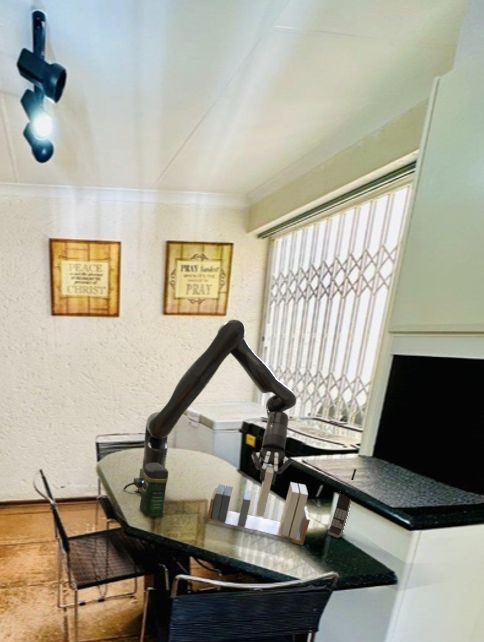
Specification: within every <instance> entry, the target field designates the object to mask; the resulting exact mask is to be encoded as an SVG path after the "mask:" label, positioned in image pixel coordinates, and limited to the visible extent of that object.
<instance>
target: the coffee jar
mask: <svg viewBox="0 0 484 642" xmlns="http://www.w3.org/2000/svg"><path fill="white" fill-rule="evenodd" d="M168 479H169V470H168V469H167V468H166V466H165V467H163V466H162V465H160V464H159V463H148V464H147V465H145V468H144V479H143V487H142V493H140V494H141V495H140V501H139V510H140V512H141V513H142V514H143V516H145V517H148V518H149V517H150V518H159V517H162V516H163V515H164V507H165V500H166V499H165V498H166V491H167V490H166V489H167V484H168Z"/></svg>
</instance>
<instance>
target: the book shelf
mask: <svg viewBox="0 0 484 642" xmlns="http://www.w3.org/2000/svg"><path fill="white" fill-rule="evenodd" d="M217 488H218V487H214V490H213V492H212V495H211V498H210V502H209V508H208V513H207V519H206V520H208V521H213V522H216V523H217V522H218V523H221V524H226V525H230V526H234V527H238V528H244V529H248V530H251V531H257V532H262V533H265V534H270V535H274V536H278V537H282V538H287V539H292V544H296V545H300V546H304V543H305V540H306V535H307V532H308V528H309V525H310V522H311V518H310V514H309V510H308V507H307V505H305V508H304V512H303V516H302V519H301V523H300V527H299V531H298V534H297V538H293V537H289V535H288V536H284V535H281V524H280V522H281V521H278V520H273V519H269V518H264V517H261V516H255V515H250V514H248V515H247V520H246V524H245V526H240V525H238V522H239V516H240V512H236V511H232V510H228V513H227V517H226V521H225V522H223V521H219V518H218V520H214V519H211V516H212V511H213V506H214V500H215V495H216V491H217ZM219 515H220V514H219Z"/></svg>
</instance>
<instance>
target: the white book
mask: <svg viewBox="0 0 484 642" xmlns="http://www.w3.org/2000/svg"><path fill="white" fill-rule="evenodd" d="M272 478H273V465H271V464H267V466H266V473H265V479H264V482H262V481H261V485H260V491H259V494H258V495H259V496H258V500H257V503H256V517H261V518H264V517H265V512H266V508H267V503H268V499H269V494H270V491H271V486H272V483H271V482H272Z"/></svg>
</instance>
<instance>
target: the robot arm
mask: <svg viewBox="0 0 484 642" xmlns="http://www.w3.org/2000/svg"><path fill="white" fill-rule="evenodd" d="M245 336H246V327H245V325H244V323H243V322H242V321H240V320H239V319H229V320H227V321H225V322H223V324H222V325H221V326H219V328H218V330H217V333H216V335H215V336H214V338H213V340H212V342H211V343H210V345H209V346H208V347H207V349H206V350H205V351H204V352H202V353H201V355H199V357H198V358H197V359H196V360H195V361H193V363H192V364H191V365H190V366H189V368H187V370H186V371H185V372H184V374H183V375H182V377H181V378H180V379H179V381H178V382H177V384H176V385H175V388H174V390H173V392H172V394H171V396H170V398H169V399H168V401H167V402H166V404H165V406H163V408H162V409H160V411H155V412H153V413H151V414H150V415H149V416H148V418H147V419H146V424H145V433H144V441H143V442H144V443H143V444H144V446H143V447H144V449H143V458H142V466H141V468H140V469H139V474H138V475H139V476H138V477H134V478H133V482H130V483H127V484H126V485H125V486H124V487H123V490H126V489H127V488H128V487H131V486H133V485H134V487H135V488H136V489H137V491H138V492H139V493H140V494H142V487H143V479H144V468H145V465H147V464H148V463H159V464H160V465H162V466H163V467H165V468H166V463H167V457H168V436H169V435H171V433H172V431H173V429H174V428H175V427H176V425H177V423H178V422H179V420H180V419H181V417H182V415H183V414H184V413H185V412H186V411H187V409H188V408H189V407H190V406H191V405H192V404H193V402H194V401H195V400H196V399H197V398H198V397H199V395H200V394H202V392H203V390H204V389H206V387H207V385H208V384H209V383H210V381H211V379H213V378H214V375H216V373H217V371H218V369H219V368H220V366H221V365H222V363H224V360H225V359H226V358H227V357H228V356H229V355H232V357H233V358H234V359H235V360H236V361H237V363H239V364H240V366H241V367H242V369H243V370H244V371H245V372H246V374H247V375H248V377H249V378H250V379H251V381H252V382H253V384H254V385H255V387H256V389H258V391H259V392H260V393H262V394H269V393H271V394H273V395H272V396H270V397H269V398H268V399H267V400H266V402H265V410H266V415H267V416H266V417H267V421H266V427H265V430H264V434H263V438H262V445H261V449H260V450H259V452H256V451H253V452H252V454H251V460H252V462H253V464H254V467H255V469H256V470H257V471H258V470H259V471H260V476H259V480H261V483H262V482H264V479H265V473H266V466H267V464H271V465H273V478H272V482H271V484H273V483H276V480H277V474H278V475H282V474H283V473H284V472H285V470H287V468H288V467H289V466H290V465H291V463H292V461H293V459H292V458H291V457H289V458H288V457H287V456H286V453H285V449H286V444H287V443H286V442H287V438H288V437H287V436H288V425H289V415H288V414H287V413H286V412H285V411H287V410H289V409H291V408H294V407H295V406H296V404H297V396H296V394H295V393H294V391H292V389H290V388H289V387H288V386H287V385H285V384H284V383H283V382H281V381H280V380H279V379H277V377H276V376H275V374H274V373H273V372H272V370H271V369H270V368H269V366H267V364H266V363H265V362H264V361H263V360H262V359H261V358H260V357H259V356H258V355H257V354H256V353H255V352H254V351H253V350H252V349H251V348H250V347H251V346H249V344H248V343H247V341H246V339H245ZM259 458H261V460H262V461H263V464H261V462H260V459H259ZM282 461H283V464H282V465H281V466H280V467H279V463H281V462H282Z"/></svg>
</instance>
